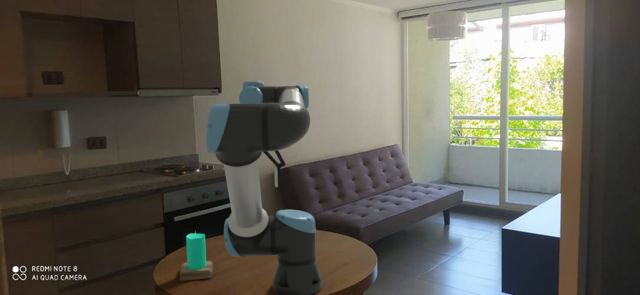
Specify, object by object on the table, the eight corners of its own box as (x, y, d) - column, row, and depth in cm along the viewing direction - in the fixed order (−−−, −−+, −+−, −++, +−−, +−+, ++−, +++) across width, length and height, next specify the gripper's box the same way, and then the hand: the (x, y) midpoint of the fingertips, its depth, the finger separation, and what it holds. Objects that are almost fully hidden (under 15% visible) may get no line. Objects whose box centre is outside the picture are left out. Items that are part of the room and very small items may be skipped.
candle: (184, 266, 152) (182, 231, 151) (199, 261, 156) (197, 227, 155) (194, 271, 148) (192, 234, 147) (209, 265, 152) (208, 230, 151)
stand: (211, 277, 148) (211, 270, 148) (179, 280, 147) (179, 273, 146) (212, 266, 158) (212, 259, 158) (182, 269, 156) (182, 262, 156)
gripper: (289, 125, 164) (290, 183, 166) (218, 127, 159) (220, 187, 161) (292, 126, 156) (293, 187, 159) (217, 128, 152) (220, 191, 154)
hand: (256, 187), depth 160 cm, fingers open, 13 cm apart
